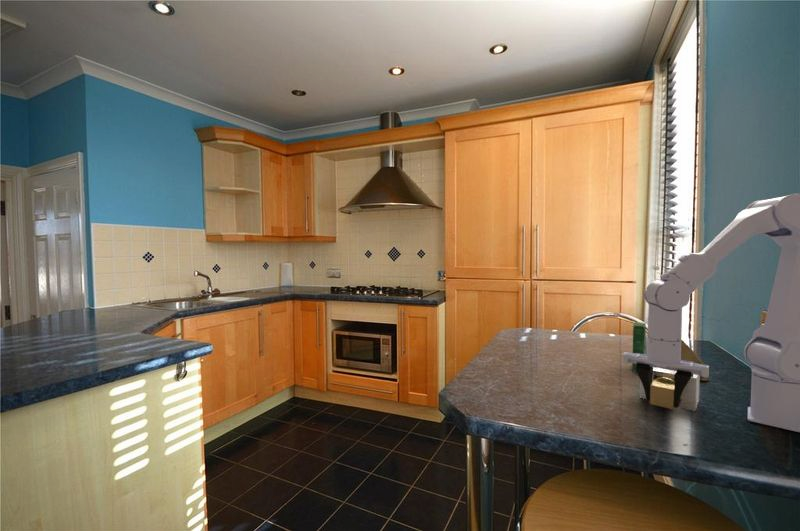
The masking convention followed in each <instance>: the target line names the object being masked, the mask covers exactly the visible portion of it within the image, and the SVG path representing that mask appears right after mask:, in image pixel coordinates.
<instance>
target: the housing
mask: <svg viewBox="0 0 800 531" xmlns="http://www.w3.org/2000/svg"><path fill="white" fill-rule="evenodd" d="M676 372H677V371H673V370H668V369H662V368H656V367H653V375H652V382H653V380H655V379H656V378H659V377H667V378H672V379H674V375H675V373H676ZM700 382H701V380H700V375H696V374H692V376H691V378H690V380H689V381H688V383H687V384H686V386H685V388H684V390H683V392H682V397H681V399H680V402H679V407H681V408H680V409H683V408H685V409H684V410H689V411H693V412H696V410H697V408H698V406H697V405H699V403H698V402H700ZM640 398H643V399H642V400H644V399H646V394H645V391H644V387H643V384H642V382H641V380H639V399H640ZM679 407H678V408H679Z"/></svg>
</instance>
